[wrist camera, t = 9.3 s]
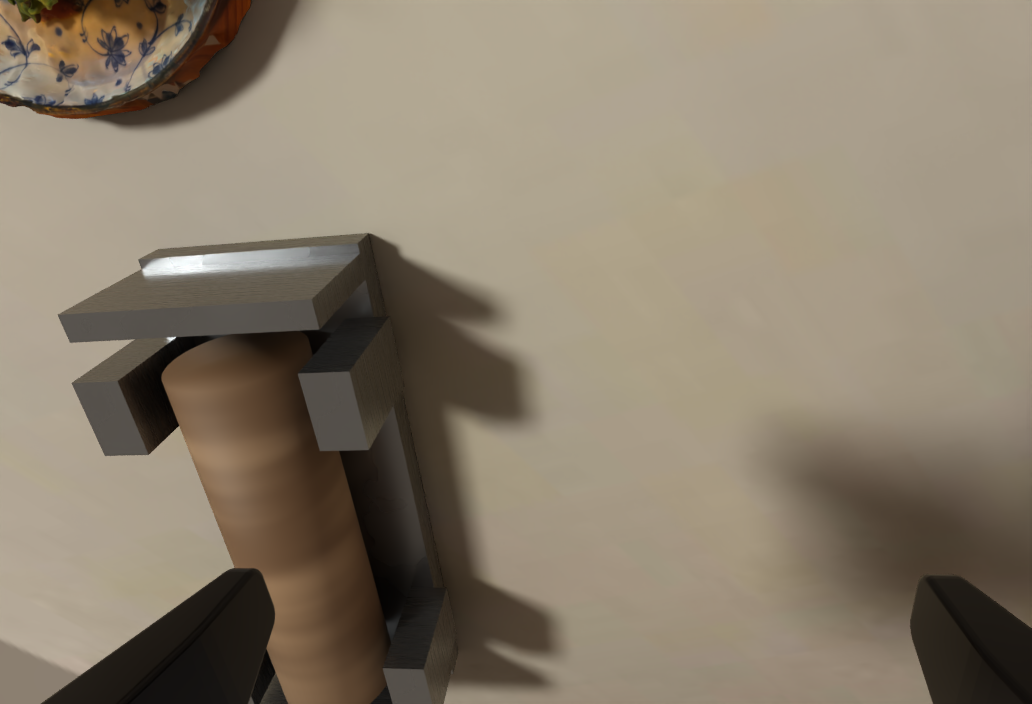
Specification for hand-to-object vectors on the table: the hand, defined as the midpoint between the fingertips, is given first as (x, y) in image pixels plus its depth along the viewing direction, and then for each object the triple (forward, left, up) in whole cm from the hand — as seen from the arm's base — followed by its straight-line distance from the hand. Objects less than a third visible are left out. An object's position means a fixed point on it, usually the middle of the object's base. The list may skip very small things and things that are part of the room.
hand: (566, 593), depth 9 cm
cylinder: (+10, +7, -11) cm, 16 cm away
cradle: (+10, +7, -12) cm, 17 cm away
